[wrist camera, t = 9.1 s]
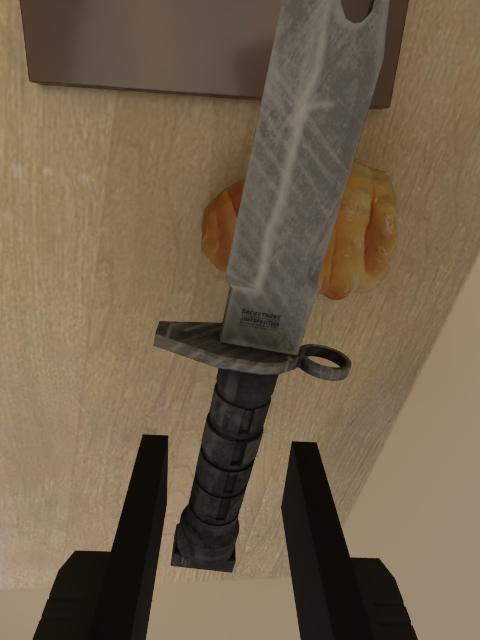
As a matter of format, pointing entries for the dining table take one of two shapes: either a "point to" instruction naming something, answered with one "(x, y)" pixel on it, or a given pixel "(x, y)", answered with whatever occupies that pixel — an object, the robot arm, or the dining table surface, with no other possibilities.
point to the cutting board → (174, 45)
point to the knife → (276, 255)
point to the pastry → (346, 240)
